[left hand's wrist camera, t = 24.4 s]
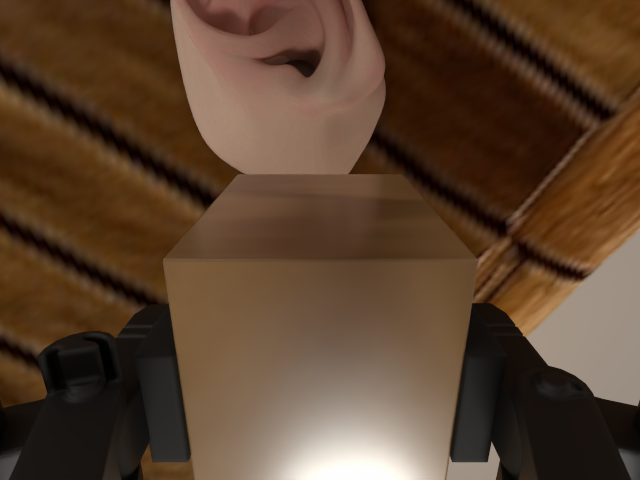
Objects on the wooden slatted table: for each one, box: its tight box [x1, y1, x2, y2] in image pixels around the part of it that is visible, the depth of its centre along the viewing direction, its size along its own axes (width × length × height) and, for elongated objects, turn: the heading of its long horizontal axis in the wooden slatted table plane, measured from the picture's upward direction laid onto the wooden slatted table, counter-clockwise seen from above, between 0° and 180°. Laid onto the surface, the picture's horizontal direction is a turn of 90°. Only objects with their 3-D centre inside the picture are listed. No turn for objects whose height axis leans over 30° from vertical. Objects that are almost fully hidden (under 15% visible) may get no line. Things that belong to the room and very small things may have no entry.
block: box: [163, 174, 478, 480], centre depth 12 cm, size 6×6×7 cm
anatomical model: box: [171, 0, 386, 174], centre depth 21 cm, size 13×4×12 cm
